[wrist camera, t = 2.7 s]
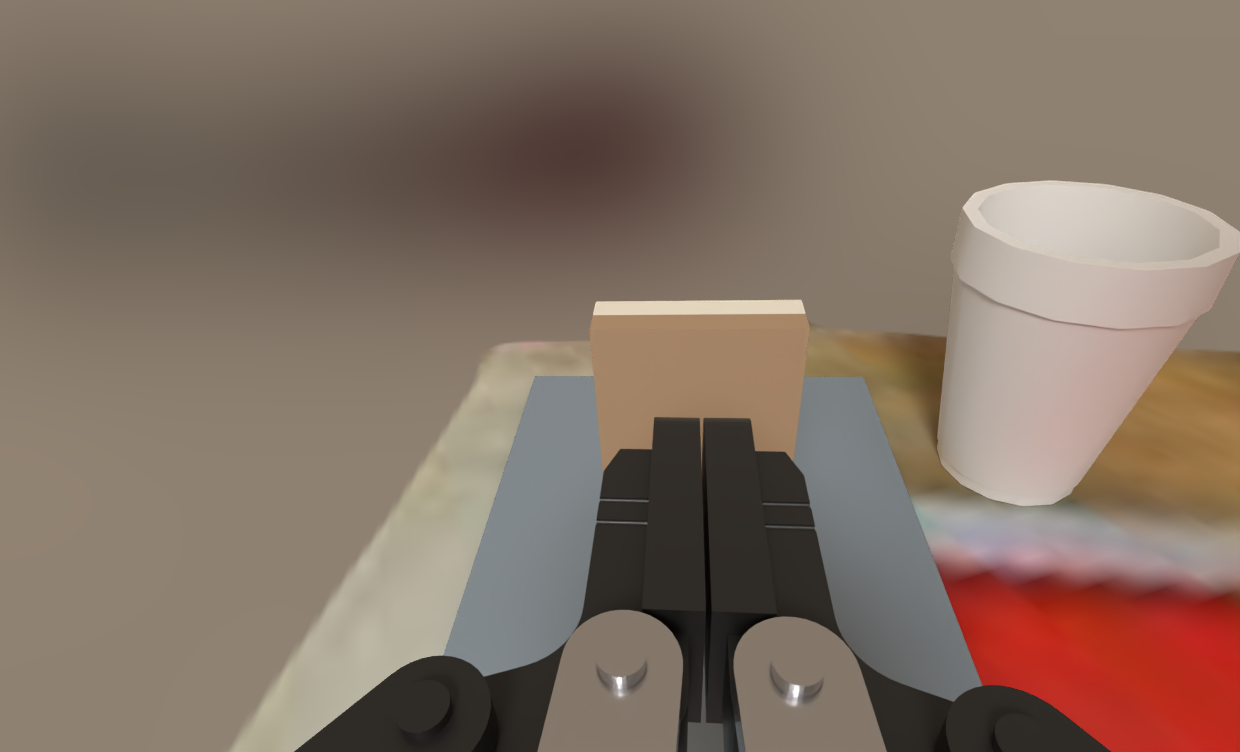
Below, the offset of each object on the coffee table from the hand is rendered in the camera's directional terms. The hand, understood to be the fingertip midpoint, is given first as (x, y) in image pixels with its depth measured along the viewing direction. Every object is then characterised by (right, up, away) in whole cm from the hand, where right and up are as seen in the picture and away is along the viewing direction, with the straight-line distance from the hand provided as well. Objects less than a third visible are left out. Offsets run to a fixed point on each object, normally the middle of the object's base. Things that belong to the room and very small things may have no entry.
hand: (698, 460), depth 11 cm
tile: (+2, -7, +17) cm, 19 cm away
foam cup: (+18, -3, +23) cm, 30 cm away
